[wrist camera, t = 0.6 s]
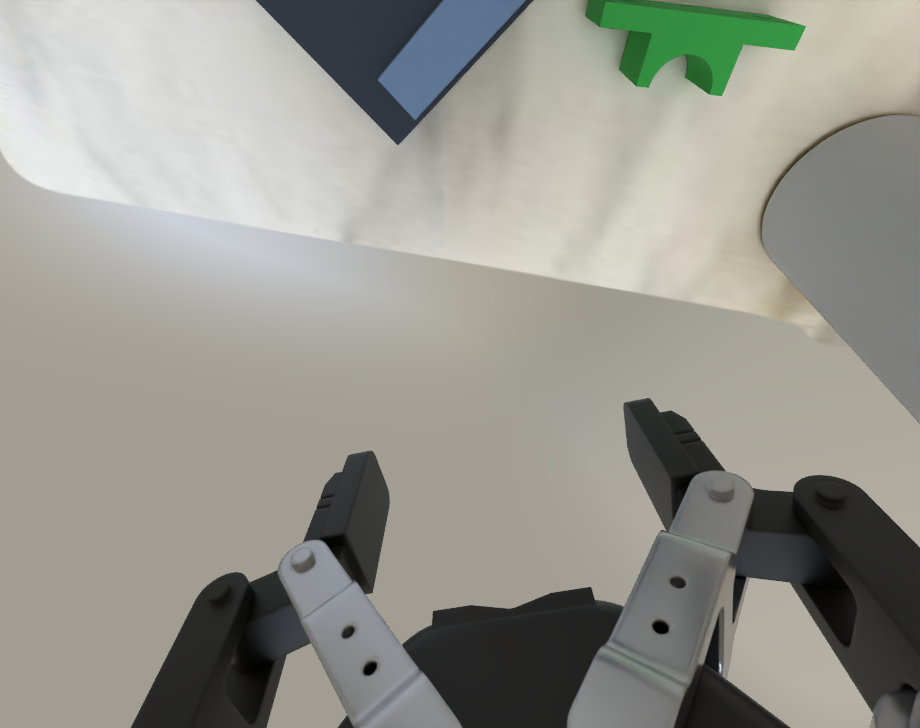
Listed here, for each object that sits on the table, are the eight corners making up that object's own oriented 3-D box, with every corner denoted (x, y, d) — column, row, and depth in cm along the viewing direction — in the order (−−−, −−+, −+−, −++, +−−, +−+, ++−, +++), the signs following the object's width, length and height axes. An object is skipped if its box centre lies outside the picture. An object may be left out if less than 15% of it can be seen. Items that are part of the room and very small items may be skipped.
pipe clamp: (574, 64, 31) (585, 80, 28) (589, -8, 29) (604, 1, 26) (739, 84, 32) (771, 102, 29) (769, 15, 29) (807, 26, 26)
